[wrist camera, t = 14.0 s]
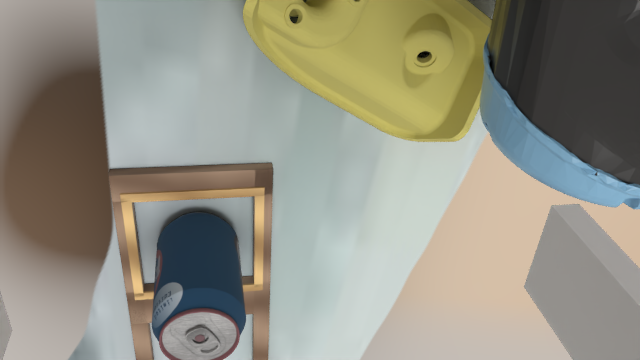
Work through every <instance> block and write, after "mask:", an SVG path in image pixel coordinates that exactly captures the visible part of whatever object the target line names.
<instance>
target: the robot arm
mask: <svg viewBox="0 0 640 360" xmlns="http://www.w3.org/2000/svg"><path fill="white" fill-rule="evenodd" d="M483 62H484V67H485V68H484V75H483V81H482V88H481V95H480V112H481V117H482V121H483V124H484V125H485V127H486V129H487V130H488V132H489V133H490V136H491V138H492V141H493V142H494V144H495V145H496V146H497V147H498V149H499V150H500V151H501V152H502V153H503V154H504V155H505V156H506V157H507V158H508V159H509V160H510V161H511V162H513V163H514V164H515V165H516V166H517V167H519V168H520V169H521V170H523V171H524V172H525V173H527V174H528V175H530V176H532V177H533V178H535V179H537V180H538V181H540V182H542V183H544V184H545V185H547V186H549V187H551V188H553V189H555V190H557V191H560V192H562V193H564V194H567V195H569V196H572V197H575V198H577V199H580V200H584V201H587V202H590V203H594V204H598V205H603V206H608V207H618V206H619V205H620V204H622V203H625V204H626V205H628V206H629V207H631V208H633V209H640V0H496V4H495V9H494V14H493V19H492V24H491V28H490V33H489V34H488V36H487V39H486V42H485V44H484V48H483ZM524 287H525V289H526V291H527V292H528V294H529V295H530V296H531V298H532V300H533V301H534V303H535V304H536V305H537V307H538V308H539V310H540V311H541V313H542V314H543V316H544V317H545V319H546V320H547V322H548V323H549V325H550V326H551V328H552V329H553V330H554V332H555V334H556V335H557V337H558V338H559V340H560V341H561V343H562V344H563V346H564V347H565V349H566V350H567V352H568V353H569V354H570V356H571V357H572V359H573V360H640V268H638V266H637V265H636V264H635V263H634V262H633V261H632V260H631V259H630V258H629V257H628V256H627V254H626V253H625V252H624V251H623V250H622V249H621V248H620V247H619V246H618V245H617V244H616V243H615V242H614V241H613V240H612V239H611V237H610V236H609V235H607V233H606V232H605V231H604V230H603V229H602V228H601V227H600V226H599V225H598V224H597V223H596V222H595V220H594V219H593V218H592V217H591V216H590V215H589V214H588V213H587V212H586V211H585V210H584V209H583V208H582V207H581V206H580V205H579V204H570V205H552V206H551V209H550V212H549V214H548V218H547V220H546V223H545V226H544V229H543V232H542V235H541V238H540V241H539V244H538V247H537V250H536V253H535V256H534V259H533V262H532V265H531V268H530V271H529V274H528V276H527V280H526V283H525V285H524ZM11 332H12V328H11V325H10V322H9V318H8V315H7V312H6V309H5V306H4V302H3V299H2V296H1V293H0V360H2V359H3V356H4V353H5V350H6V347H7V344H8V341H9V338H10V335H11Z"/></svg>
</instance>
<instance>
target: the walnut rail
mask: <svg viewBox="0 0 640 360" xmlns="http://www.w3.org/2000/svg"><path fill="white" fill-rule="evenodd" d="M109 183H110V189H111V196H112V203H113V209H114V216H115V222H116V229H117V236H118V242H119V249H120V255H121V262H122V268H123V275H124V282H125V288H126V295H127V301H128V308H129V315H130V321H131V328H132V334H133V341H134V348H135V354H136V360H154V357H153V349H152V341H151V333H150V325H149V323H152V312H153V297H154V283H150V284H144V279H143V271H142V263H141V255H140V247H139V240H138V232H137V224H136V216H135V208H134V202H149V201H169V200H190V199H210V198H231V197H251V196H254V219H253V276H245V277H242V283H243V293H244V303H245V313H246V314H253V360H268V342H269V304H270V266H271V228H272V189H273V167H272V163H256V164H230V165H204V166H178V167H152V168H127V169H110V171H109Z"/></svg>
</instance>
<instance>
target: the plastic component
mask: <svg viewBox="0 0 640 360" xmlns="http://www.w3.org/2000/svg"><path fill="white" fill-rule="evenodd" d="M289 16H291V17H297V16H298V20H297V22H296V23H295V24H294V23H292V22H291V21H290V17H289ZM243 19H244V23H245V26H246V29H247V31H248V33H249V35H250V36H251V38H252V39H253V41H254V42H255V44H256V45H257V46H258V47H259V49H260V50H261V51H262V52H263V53H264V54H265V55H266V56H267V57H268V58H269V59H270V60H271V61H272V62H273V63H274V64H275V65H276V66H277V67H278V68H280V69H281V70H282V71H283V72H285V73H286V74H287V75H289V76H290V77H291V78H292V79H294V80H295V81H297V82H298V83H300V84H301V85H303V86H304V87H306V88H307V89H309V90H311V91H312V92H314V93H315V94H317V95H319V96H321V97H322V98H324V99H326V100H328V101H330V102H331V103H333V104H335V105H337V106H338V107H340V108H342V109H344V110H345V111H347V112H349V113H351V114H352V115H354V116H356V117H358V118H360V119H361V120H363V121H365V122H367V123H368V124H370V125H372V126H374V127H375V128H377V129H379V130H381V131H383V132H385V133H387V134H390V135H392V136H395V137H398V138H402V139H405V140H410V141H417V142H454V141H458V140H460V139H461V138H463V137H464V136H465V135H466V133H467V132H468V131H469V129H470V127H471V124H472V122H473V120H474V118H475V116H476V113H477V111H478V109H479V107H480V95H481V88H482V81H483V75H484V68H485V67H484V62H483V48H484V44H485V42H486V39H487V36H488V34H489V33H490V28H491V24H492V20H491V19H490V18H489V17H487V16H486V15H485V14H484V13H482V12H481V11H480V10H479V9H477V8H476V7H475V6H474V5H472V4H471V3H470V2H469V1H467V0H355V1H354V0H307V1H306V3H305V2H304V1H303V0H246V3H245V6H244V9H243ZM423 51H428V52H430V55H429V56H427V57H426V58H419V57H417V55H418V54H419V53H420V52H423Z"/></svg>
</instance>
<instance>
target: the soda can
mask: <svg viewBox="0 0 640 360" xmlns="http://www.w3.org/2000/svg"><path fill="white" fill-rule="evenodd" d="M245 322H246V313H245V303H244V293H243V283H242V274H241V264H240V254H239V244H238V238H237V235H236V233H235V231H234V230H233V229H232V227H231V226H230V225H229V224H228V223H226V222H225V221H224V220H222V219H221V218H219V217H217V216H215V215H213V214H210V213H205V212H193V213H188V214H185V215H183V216H180V217H179V218H177V219H175V220H174V221H172V222H171V223H170V224H169V225H167V226H166V228H165V229H164V230H163V231H162V233H161V234H160V236H159V239H158V243H157V255H156V269H155V283H154V297H153V312H152V329H153V333H154V335H155V337H156V338H157V340H158V341H159V345H160V348H161V351H162V352H163V353H164V355H165V356H166V357H168V358H169V359H170V360H223V359H225V358H226V357H228V356H229V355H230V354H231V353H232V352H233V351H234V350H235V348H236V347H237V345H238V342H239V338H240V334H241V333H242V331H243V329H244V326H245Z"/></svg>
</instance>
